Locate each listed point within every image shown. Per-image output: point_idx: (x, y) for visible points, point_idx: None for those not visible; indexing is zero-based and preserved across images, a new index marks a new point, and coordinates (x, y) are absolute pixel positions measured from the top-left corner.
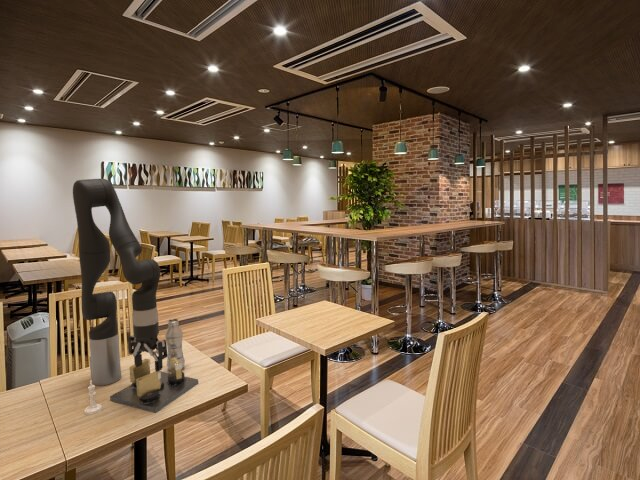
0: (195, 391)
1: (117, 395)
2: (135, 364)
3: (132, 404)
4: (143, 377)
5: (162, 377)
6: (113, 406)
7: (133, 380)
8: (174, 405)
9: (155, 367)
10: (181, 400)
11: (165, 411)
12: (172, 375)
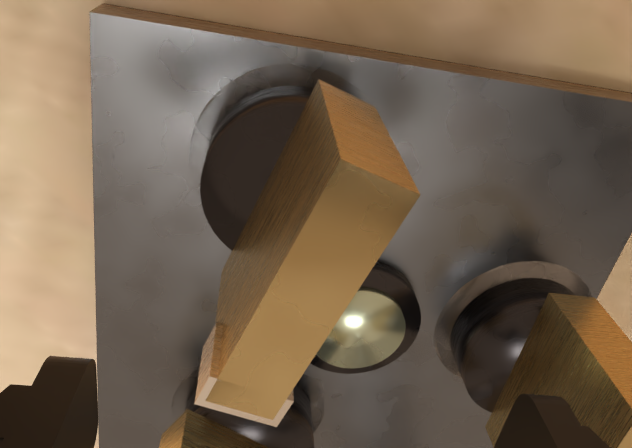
0: (37, 351)
1: (628, 141)
2: (576, 428)
3: (408, 60)
4: (334, 256)
5: (395, 426)
6: (589, 20)
7: (567, 308)
8: (31, 151)
9: (50, 418)
10: (37, 228)
11: (27, 46)
12: (274, 446)
